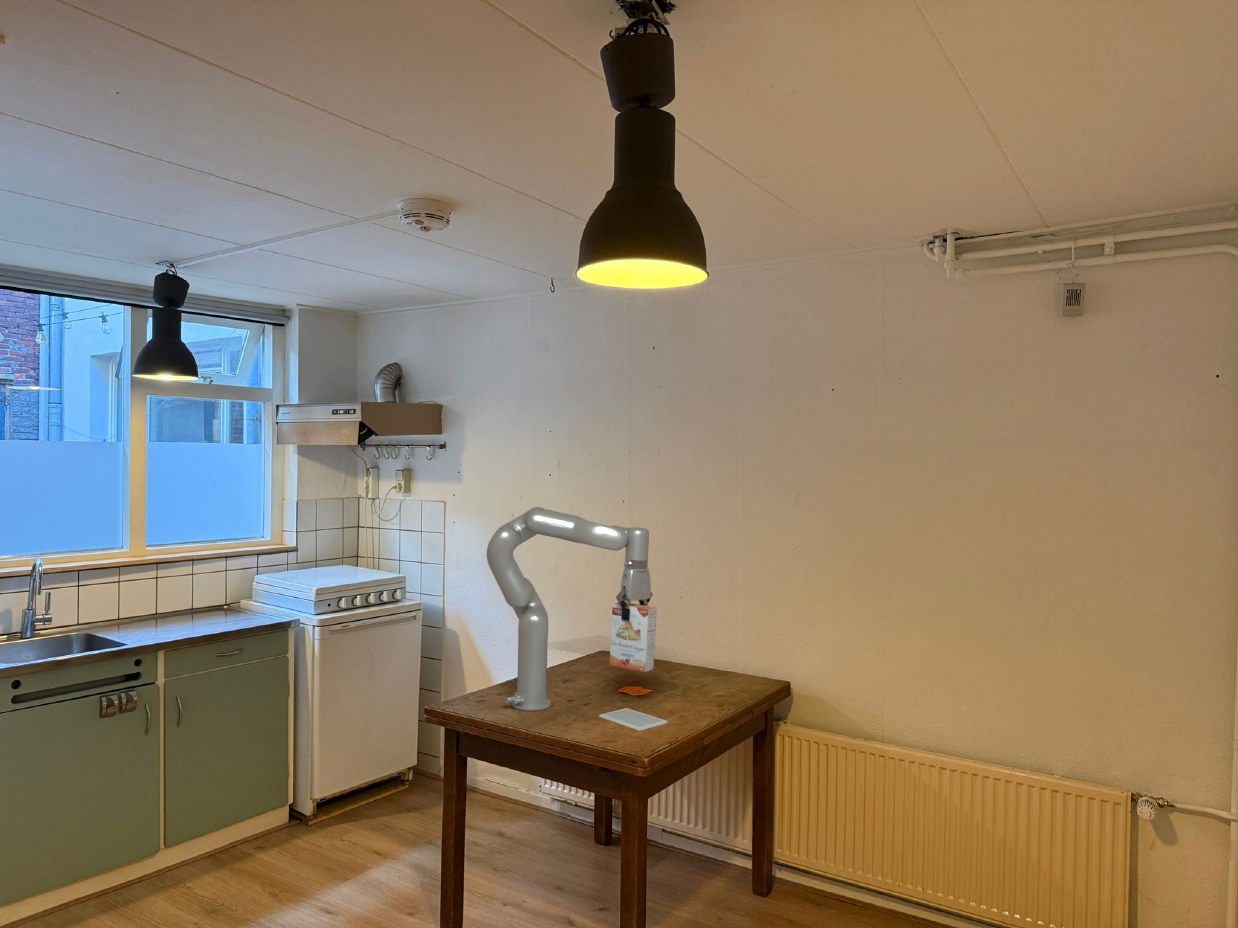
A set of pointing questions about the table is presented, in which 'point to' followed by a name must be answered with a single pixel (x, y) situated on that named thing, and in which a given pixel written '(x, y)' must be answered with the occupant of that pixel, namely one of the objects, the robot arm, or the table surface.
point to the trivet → (633, 719)
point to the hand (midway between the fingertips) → (633, 618)
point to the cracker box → (633, 638)
